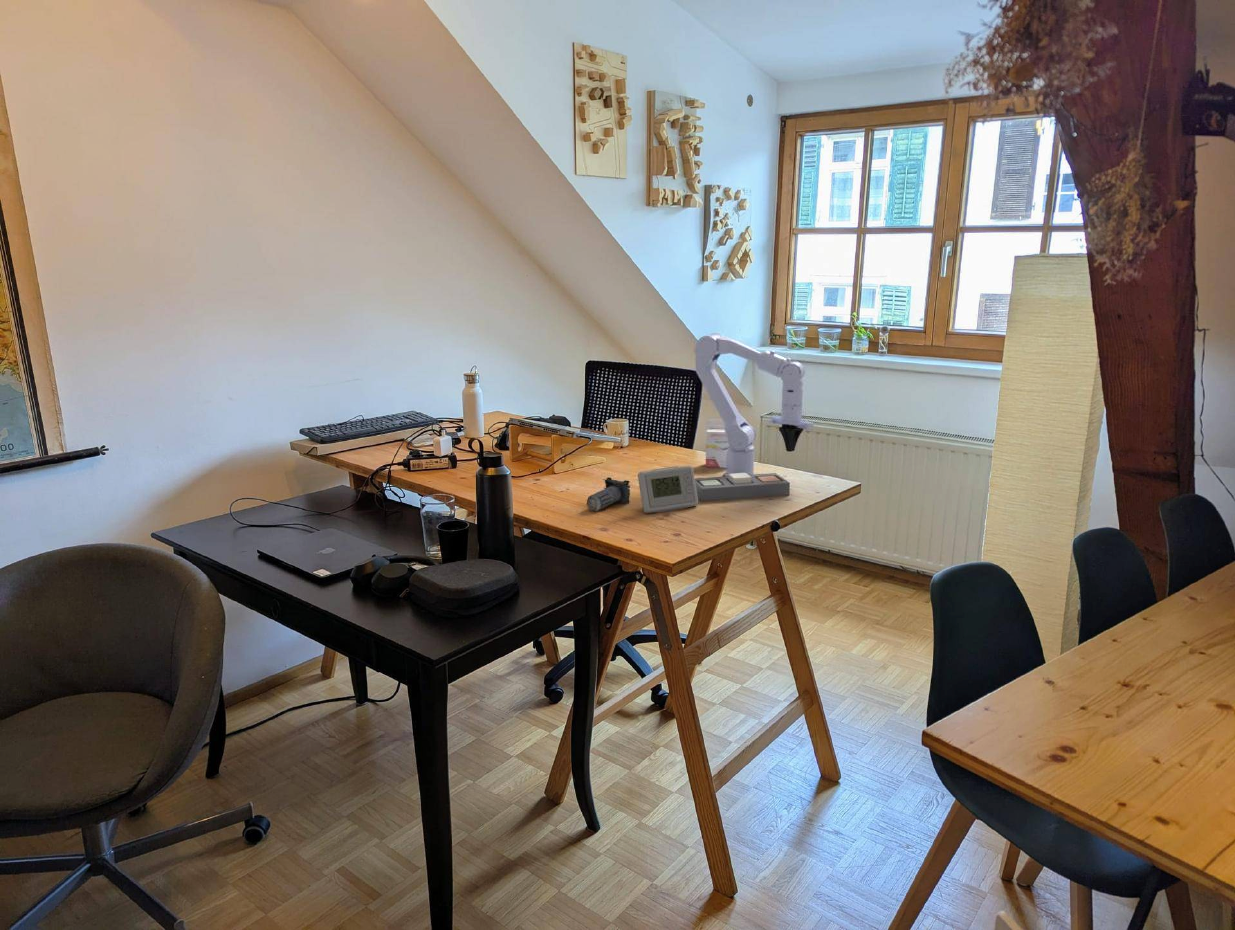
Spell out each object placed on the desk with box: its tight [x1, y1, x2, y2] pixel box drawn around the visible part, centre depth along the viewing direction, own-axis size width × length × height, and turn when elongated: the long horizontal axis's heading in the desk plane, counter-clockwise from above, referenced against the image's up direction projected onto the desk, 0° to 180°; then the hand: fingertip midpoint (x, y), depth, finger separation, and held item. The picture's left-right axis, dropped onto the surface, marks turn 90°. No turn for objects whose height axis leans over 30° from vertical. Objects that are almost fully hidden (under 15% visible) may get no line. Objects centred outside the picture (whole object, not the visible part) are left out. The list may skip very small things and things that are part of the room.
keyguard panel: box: [694, 472, 791, 502], centre depth 221 cm, size 11×25×4 cm, turn 100°
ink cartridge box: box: [705, 418, 730, 468], centre depth 250 cm, size 9×5×15 cm, turn 84°
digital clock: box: [637, 465, 699, 514], centre depth 208 cm, size 16×9×11 cm, turn 101°
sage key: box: [699, 480, 722, 486], centre depth 220 cm, size 5×5×2 cm
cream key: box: [728, 473, 751, 484], centre depth 221 cm, size 5×5×2 cm
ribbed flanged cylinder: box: [586, 477, 631, 512], centre depth 211 cm, size 9×8×12 cm
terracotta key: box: [757, 476, 781, 482], centre depth 223 cm, size 5×5×2 cm
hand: (790, 450), depth 229 cm, fingers closed
